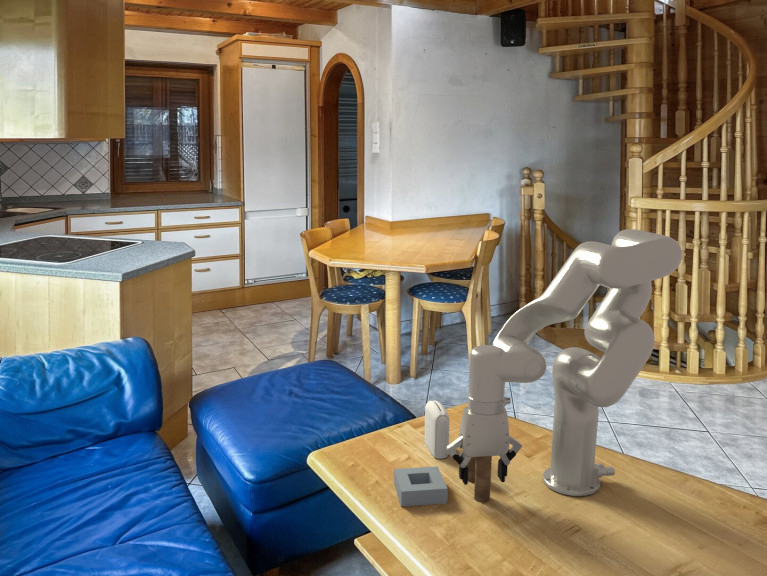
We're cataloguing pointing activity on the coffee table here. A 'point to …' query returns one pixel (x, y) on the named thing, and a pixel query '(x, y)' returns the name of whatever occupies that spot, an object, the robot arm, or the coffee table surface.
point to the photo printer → (436, 429)
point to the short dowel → (471, 469)
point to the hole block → (420, 486)
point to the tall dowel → (482, 479)
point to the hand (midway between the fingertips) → (482, 480)
